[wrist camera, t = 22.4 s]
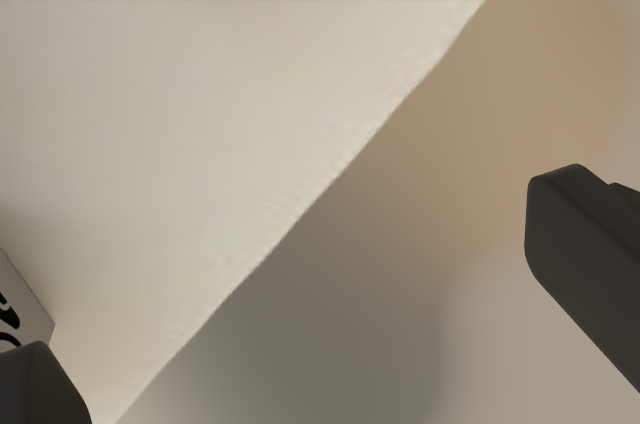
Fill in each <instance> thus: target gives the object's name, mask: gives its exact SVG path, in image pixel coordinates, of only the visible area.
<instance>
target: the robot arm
mask: <svg viewBox="0 0 640 424" xmlns="http://www.w3.org/2000/svg"><path fill="white" fill-rule="evenodd" d="M526 209H527V210H526V225H525V242H524V244H525V245H524V248H525V255H526V259H527V262H528V265H529V267H530V269H531V271H532V273H533V275H534V276H535V278H536V279H537V280H538V281H539V283H540V284H541V285H542V286H543V287H544V288H545V290H546V291H547V292H548V293H549V294H550V295H551V296H552V297H553V298H554V299H555V301H556V302H557V303H558V304H559V305H560V306H561V307H562V308H563V309H564V310H565V312H567V314H568V315H569V316H570V317H571V318H572V319H573V320H574V321H575V323H576V324H577V325H578V326H579V327H580V328H581V329H582V330H583V331H584V333H586V334H587V336H588V337H589V338H590V339H591V340H592V341H593V342H594V343H595V344H596V346H597V347H598V348H599V349H600V350H601V351H602V352H603V353H604V355H605V356H606V357H607V358H608V359H609V360H610V361H611V362H612V363H613V364H614V366H615V367H616V368H617V369H618V370H619V371H620V372H621V373H622V374H623V375H624V377H626V379H627V380H628V381H629V382H630V383H631V384H632V385H633V386H634V388H635V389H636V390H637V391H638V392H639V393H640V192H639V191H636V190H634V189H631V188H628V187H626V186H623V185H621V184H618V183H612V184H609V185H608V184H606V183H605V182H604V181H602V180H601V179H600V178H599V177H597V176H596V175H595V174H593V173H592V172H591V171H589V170H588V169H587V168H585V167H584V166H582V165H580V164H571V165H568V166H565V167H562V168H559V169H556V170H553V171H551V172H548V173H544V174H541V175H538V176H535V177H533V178H532V179H531V180H530V182H529V184H528V191H527V208H526ZM0 424H92V421H91V417H90V414H89V411H88V409H87V406H86V404H85V402H84V400H83V398H82V397H81V395H80V394H79V392H78V391H77V389H76V388H75V386H74V385H73V383H72V382H71V380H70V379H69V377H68V376H67V374H66V373H65V371H64V370H63V368H62V367H61V365H60V364H59V362H58V360H57V359H56V357H55V356H54V354H53V353H52V351H51V350H50V348H49V347H48V346H47V345H46V344H45V343H44V342H43V341H40V340H38V341H35V342H32V343H29V344H26V345H23V346H20V347H17V348H14V349H11V350H8V351H5V352H2V353H0Z"/></svg>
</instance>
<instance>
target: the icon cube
mask: <svg viewBox="0 0 640 424" xmlns="http://www.w3.org/2000/svg"><path fill="white" fill-rule="evenodd" d="M54 327H55V324H54V323H53V322H52V320H51V319H50V317H49V316H48V314H47V313H46V312H45V310H44V309H43V307H42V306H41V304H40V303H39V302H38V300H37V299H36V297H35V296H34V294H33V293H32V292H31V290H30V289H29V287H28V286H27V285H26V283H25V282H24V280H23V279H22V277H21V276H20V275H19V273H18V272H17V270H16V269H15V267H14V266H13V265H12V263H11V262H10V260H9V259H8V257H7V256H6V255H5V253H4V252H3V250H2V249H1V247H0V353H2V352H5V351H8V350H11V349H14V348H17V347H20V346H23V345H26V344H29V343H32V342H35V341H38V340H40V341H43V342H44V343H45V344H46V345H47V346H48V345H49V342H50V339H51V336H52V333H53V330H54Z"/></svg>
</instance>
